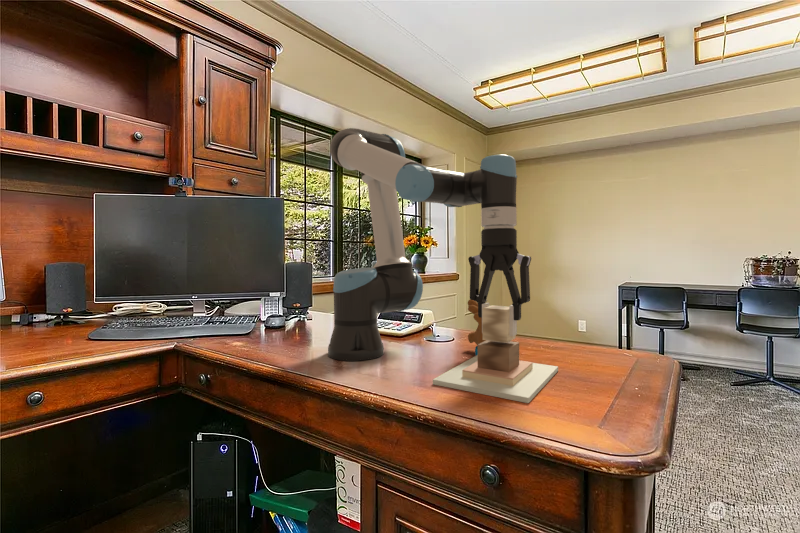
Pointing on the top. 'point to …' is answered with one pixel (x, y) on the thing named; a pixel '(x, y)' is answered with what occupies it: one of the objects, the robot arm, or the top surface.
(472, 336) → the toy
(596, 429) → the top surface
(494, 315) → the maple block
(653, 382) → the top surface
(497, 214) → the robot arm
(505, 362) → the walnut block
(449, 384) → the board
